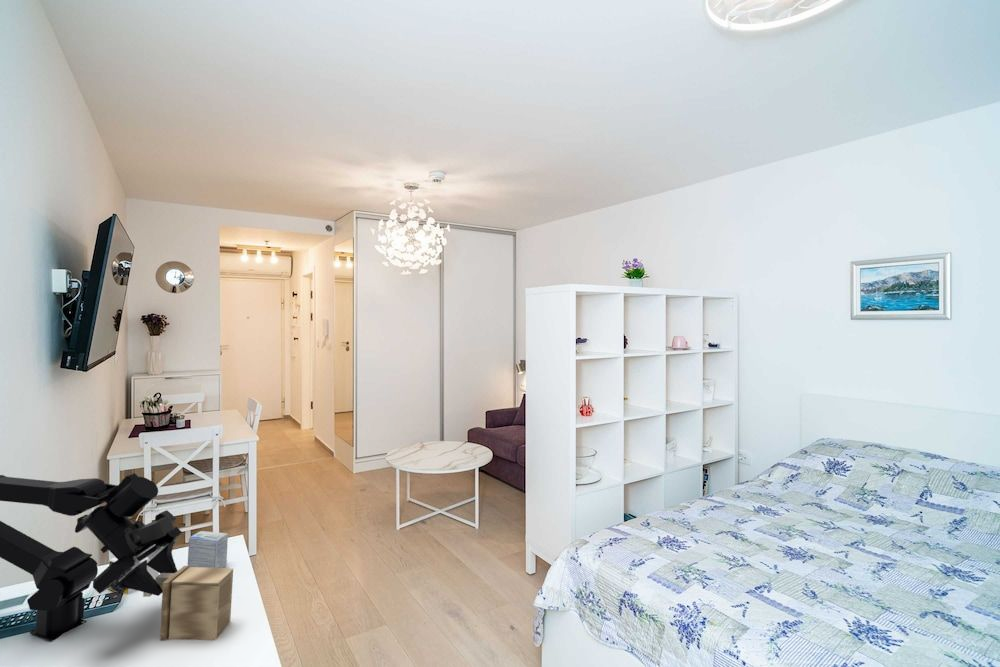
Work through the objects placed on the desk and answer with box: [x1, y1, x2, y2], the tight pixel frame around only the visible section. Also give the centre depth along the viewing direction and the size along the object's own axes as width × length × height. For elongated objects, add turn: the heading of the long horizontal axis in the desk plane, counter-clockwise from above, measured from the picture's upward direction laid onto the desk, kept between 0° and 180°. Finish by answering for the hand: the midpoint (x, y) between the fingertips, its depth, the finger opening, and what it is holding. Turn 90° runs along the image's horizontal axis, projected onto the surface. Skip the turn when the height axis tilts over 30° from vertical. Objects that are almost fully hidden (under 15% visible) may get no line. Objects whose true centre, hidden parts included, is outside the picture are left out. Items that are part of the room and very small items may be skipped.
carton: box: [168, 567, 234, 641], centre depth 99 cm, size 9×6×12 cm, turn 93°
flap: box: [142, 565, 189, 641], centre depth 99 cm, size 5×7×11 cm
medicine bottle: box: [107, 556, 160, 595], centre depth 115 cm, size 7×7×12 cm
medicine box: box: [187, 530, 229, 568], centre depth 125 cm, size 8×4×9 cm, turn 84°
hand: (169, 586), depth 99 cm, fingers closed on flap, 5 cm apart
